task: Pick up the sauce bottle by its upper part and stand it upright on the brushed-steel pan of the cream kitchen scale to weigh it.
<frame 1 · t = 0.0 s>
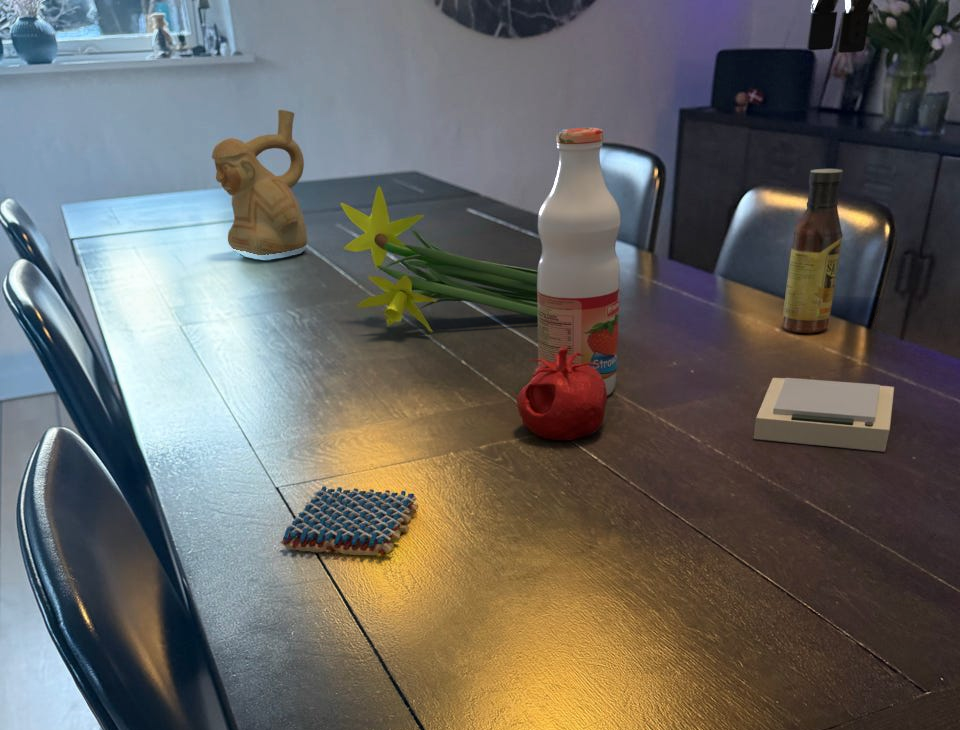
hand: (834, 50, 117), 32 cm above the table, tool pointing down, fingers open, 9 cm apart
fruit juice: (577, 391, 113), on the table
scale: (823, 423, 101), on the table
ceramic vessel: (275, 255, 187), on the table
woven mat: (353, 532, 85), on the table
pomegranate: (562, 431, 103), on the table
daffodil flowers: (463, 324, 140), on the table
sauce bottle: (804, 329, 129), on the table
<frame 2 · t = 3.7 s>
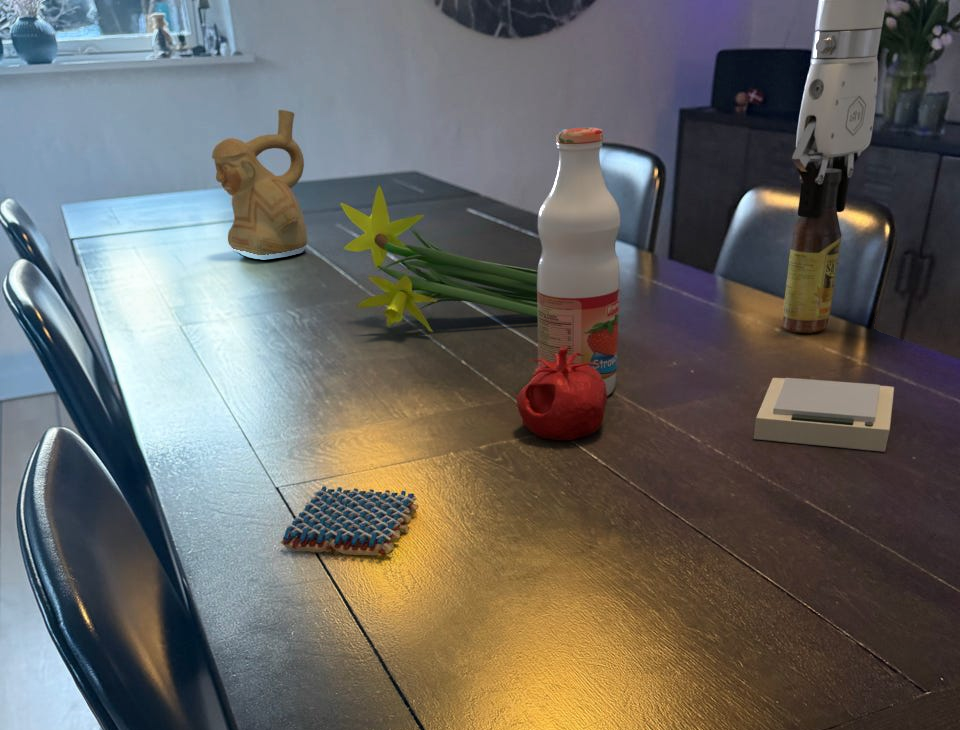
hand: (820, 212, 121), 15 cm above the table, tool pointing down, fingers closed on sauce bottle, 4 cm apart
sauce bottle: (803, 329, 129), on the table, touching gripper
everything else where it was.
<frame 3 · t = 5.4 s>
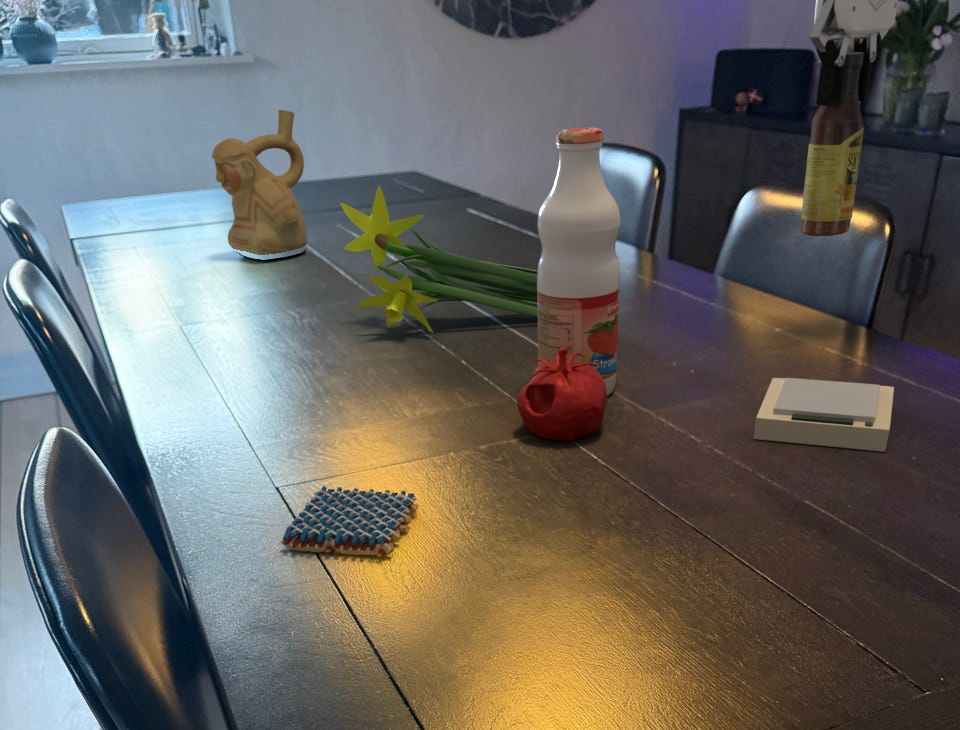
hand: (841, 101, 112), 28 cm above the table, tool pointing down, fingers closed on sauce bottle, 4 cm apart
sauce bottle: (824, 234, 121), point 13 cm above the table, touching gripper
everything else where it was.
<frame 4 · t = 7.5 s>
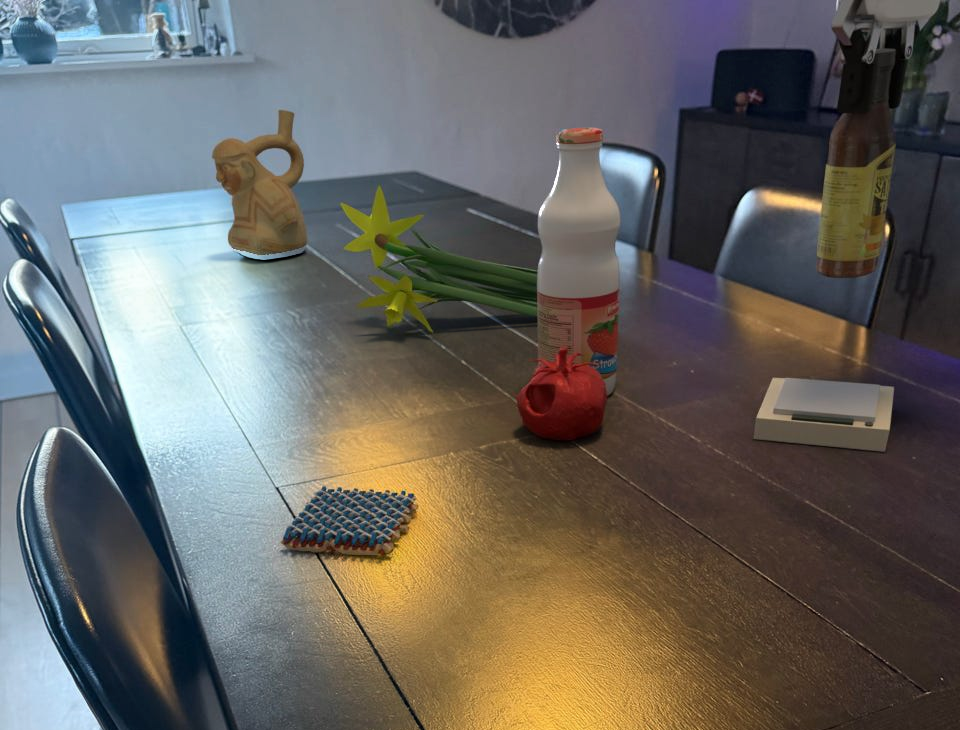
hand: (868, 108, 89), 29 cm above the table, tool pointing down, fingers closed on sauce bottle, 4 cm apart
sauce bottle: (845, 273, 98), point 14 cm above the table, touching gripper
everything else where it was.
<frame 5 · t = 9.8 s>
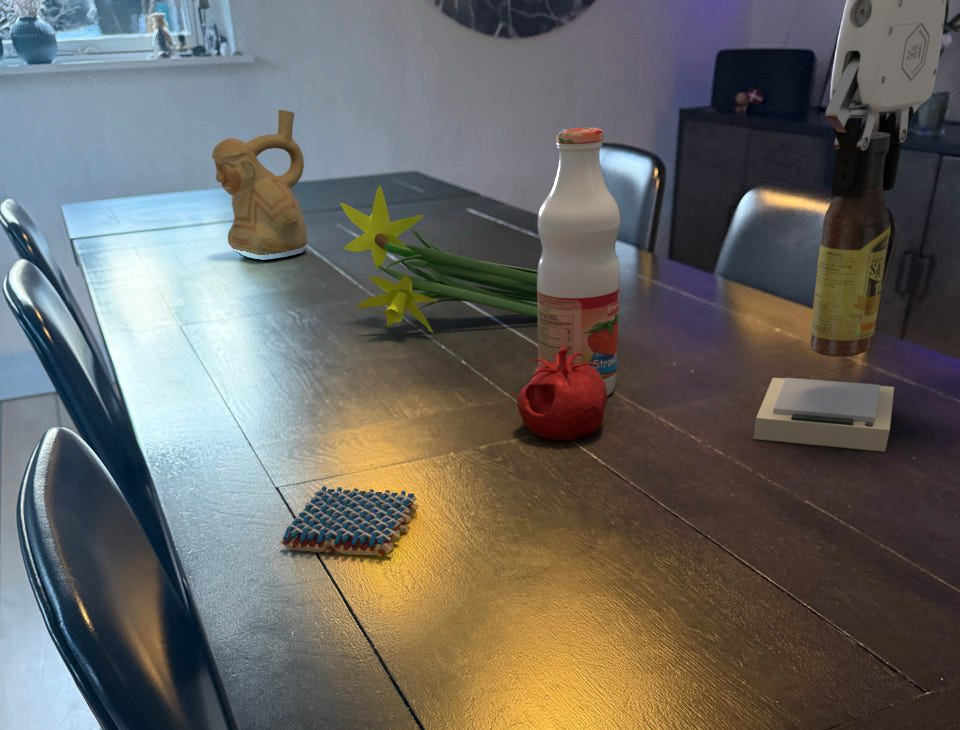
hand: (862, 190, 88), 23 cm above the table, tool pointing down, fingers closed on sauce bottle, 4 cm apart
sauce bottle: (839, 350, 97), point 8 cm above the table, touching gripper
everything else where it was.
when the fingers open (18 cm above the table, at t = 11.5 s): sauce bottle stays where it is, resting on scale.
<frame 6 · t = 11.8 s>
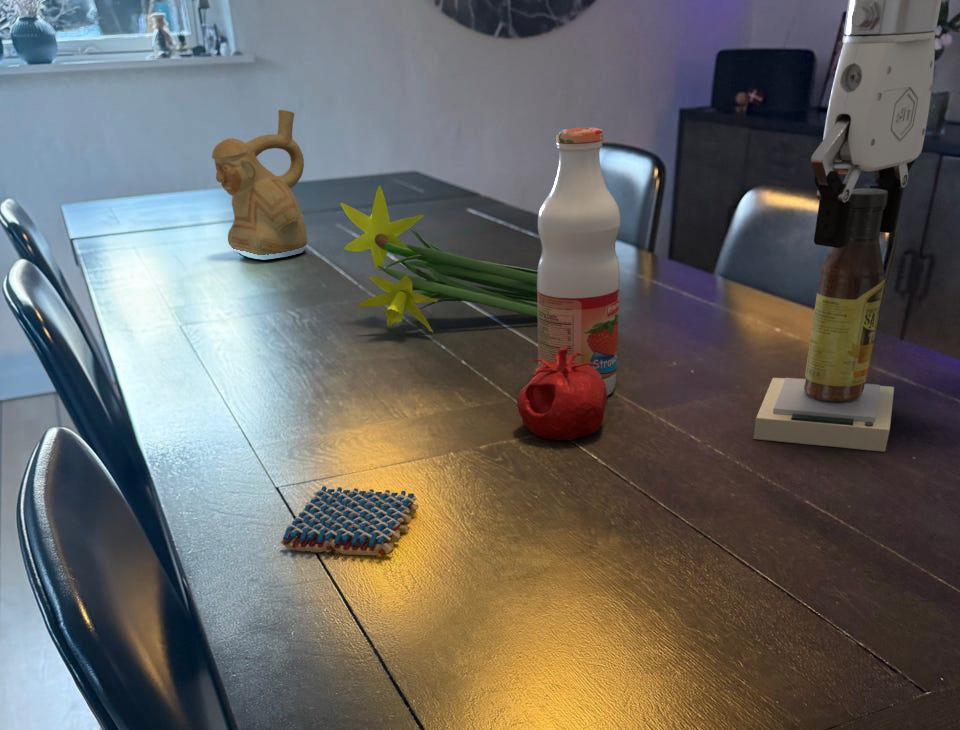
hand: (854, 237, 90), 19 cm above the table, tool pointing down, fingers open, 7 cm apart
sauce bottle: (832, 395, 100), point 3 cm above the table, touching scale
everything else where it was.
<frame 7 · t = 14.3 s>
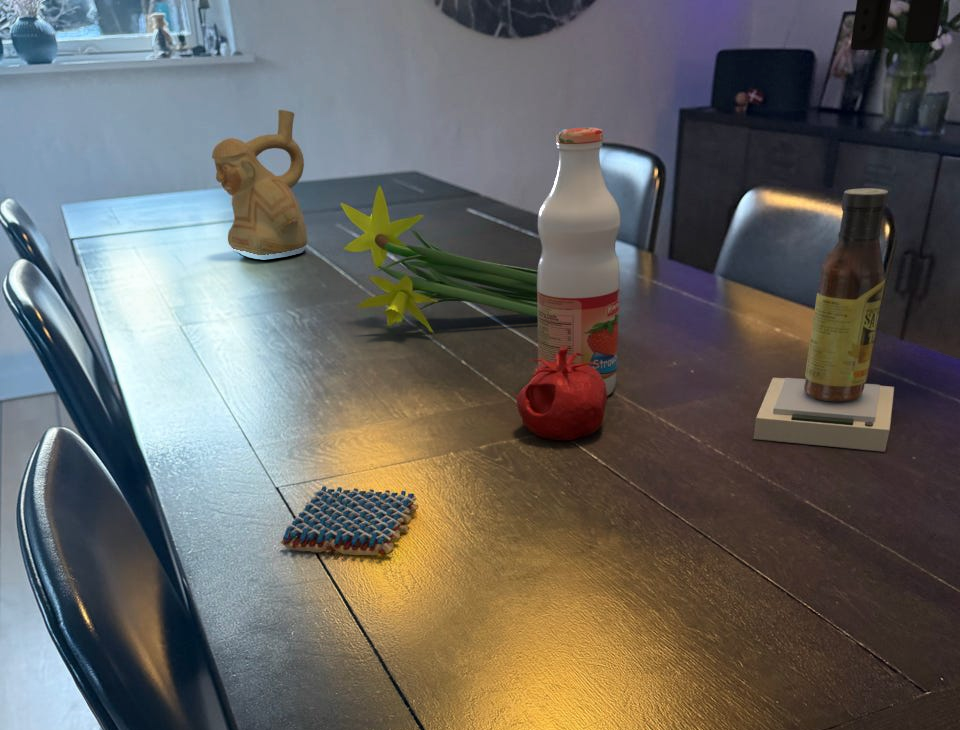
hand: (893, 45, 91), 34 cm above the table, tool pointing down, fingers open, 9 cm apart
nothing on the table moved.
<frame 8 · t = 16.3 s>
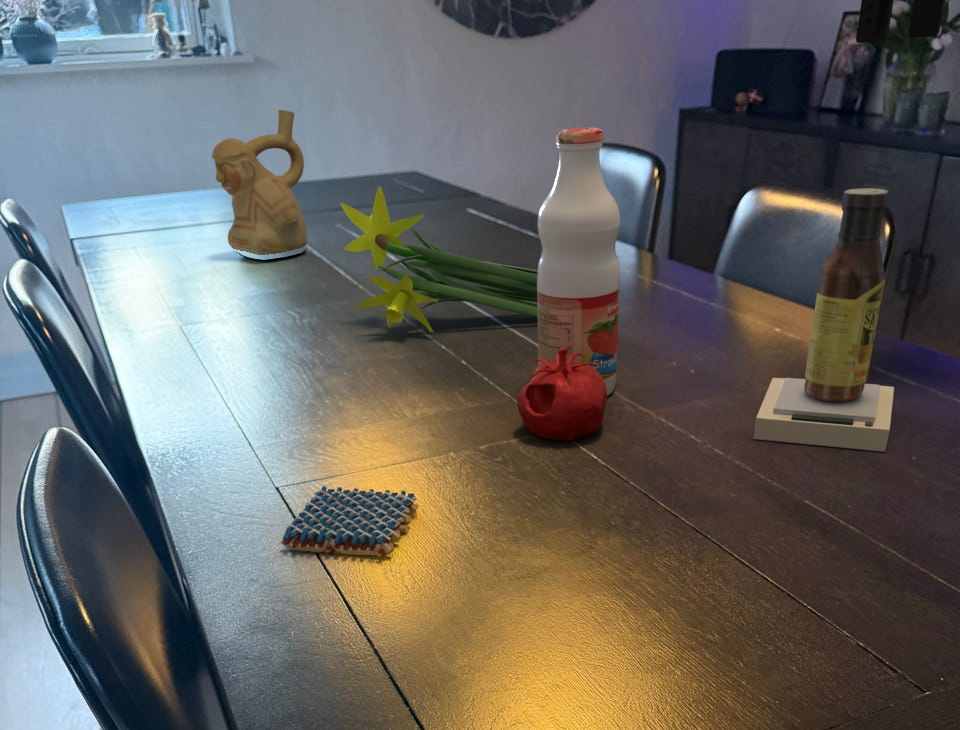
hand: (897, 39, 96), 34 cm above the table, tool pointing down, fingers open, 9 cm apart
nothing on the table moved.
at the end: sauce bottle inside the target area on the scale (0.8 cm from its centre), point 2.8 cm above the scale's base; sauce bottle tilted 0°; the gripper is holding nothing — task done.
